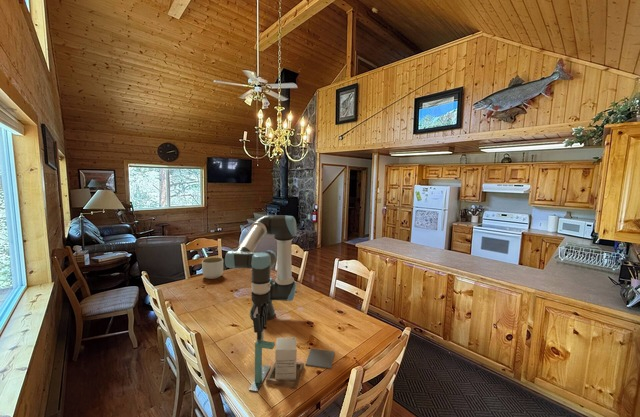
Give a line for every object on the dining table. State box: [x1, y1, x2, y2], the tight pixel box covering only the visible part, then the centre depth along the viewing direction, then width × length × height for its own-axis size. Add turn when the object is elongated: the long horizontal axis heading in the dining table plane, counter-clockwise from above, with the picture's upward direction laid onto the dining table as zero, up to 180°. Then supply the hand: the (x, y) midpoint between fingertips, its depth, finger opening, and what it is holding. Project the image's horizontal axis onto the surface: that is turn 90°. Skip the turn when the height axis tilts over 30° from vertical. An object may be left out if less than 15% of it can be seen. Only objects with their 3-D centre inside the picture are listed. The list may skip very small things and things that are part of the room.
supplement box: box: [274, 337, 298, 382], centre depth 115 cm, size 9×9×15 cm
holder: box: [265, 361, 305, 390], centre depth 116 cm, size 13×13×2 cm
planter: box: [201, 256, 224, 280], centre depth 228 cm, size 17×17×15 cm
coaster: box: [305, 347, 335, 370], centre depth 127 cm, size 12×12×1 cm
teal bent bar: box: [254, 339, 276, 383], centre depth 110 cm, size 8×2×17 cm, turn 80°
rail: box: [248, 364, 271, 393], centre depth 113 cm, size 4×14×1 cm, turn 170°
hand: (260, 344), depth 112 cm, fingers closed
